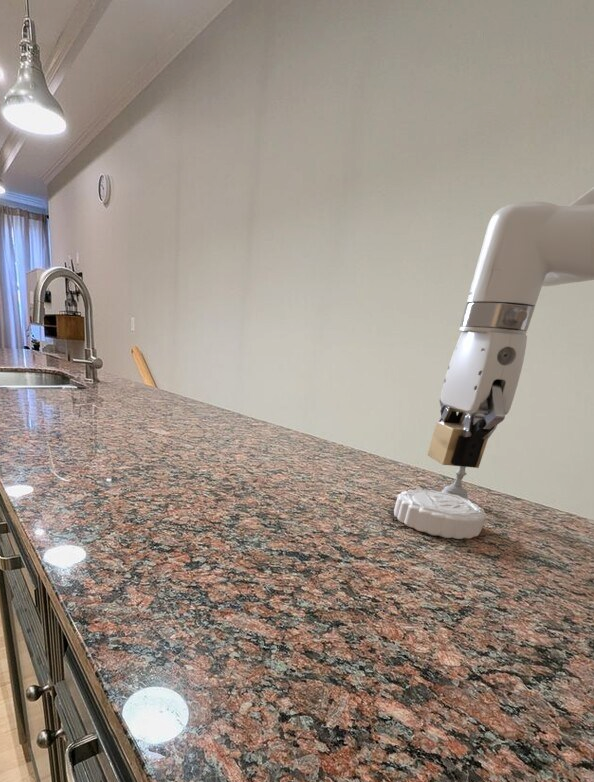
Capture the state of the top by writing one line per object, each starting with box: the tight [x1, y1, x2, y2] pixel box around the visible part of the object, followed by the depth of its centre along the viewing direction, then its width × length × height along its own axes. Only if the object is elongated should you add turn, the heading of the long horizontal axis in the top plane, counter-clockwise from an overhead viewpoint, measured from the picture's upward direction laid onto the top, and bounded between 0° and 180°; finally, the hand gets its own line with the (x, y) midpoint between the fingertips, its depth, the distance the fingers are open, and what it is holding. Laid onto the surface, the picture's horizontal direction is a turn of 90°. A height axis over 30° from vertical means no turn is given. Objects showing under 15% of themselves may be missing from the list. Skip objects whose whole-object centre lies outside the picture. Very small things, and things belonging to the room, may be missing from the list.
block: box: [427, 421, 490, 469], centre depth 63 cm, size 5×5×5 cm
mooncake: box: [393, 488, 487, 540], centre depth 66 cm, size 12×12×4 cm
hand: (453, 458), depth 63 cm, fingers closed on block, 5 cm apart
